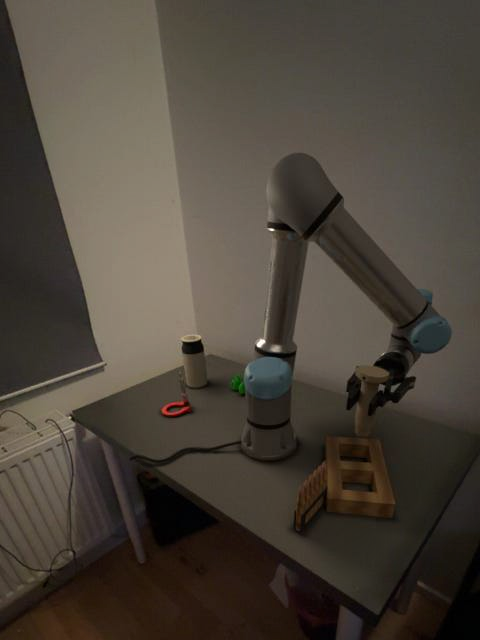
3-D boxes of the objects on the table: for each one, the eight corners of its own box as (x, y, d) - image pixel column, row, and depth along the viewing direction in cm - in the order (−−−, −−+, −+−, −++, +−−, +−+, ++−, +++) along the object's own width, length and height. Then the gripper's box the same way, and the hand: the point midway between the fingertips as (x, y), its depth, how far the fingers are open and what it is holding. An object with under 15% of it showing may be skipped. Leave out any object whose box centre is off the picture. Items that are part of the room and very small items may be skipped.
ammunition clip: (318, 499, 78) (322, 456, 71) (326, 503, 77) (331, 460, 70) (293, 529, 71) (294, 485, 65) (300, 534, 70) (303, 489, 64)
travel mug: (198, 389, 129) (192, 342, 119) (182, 385, 132) (175, 339, 123) (211, 381, 134) (207, 335, 125) (195, 377, 138) (189, 333, 128)
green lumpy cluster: (277, 384, 129) (278, 366, 126) (258, 401, 119) (257, 382, 115) (243, 376, 137) (242, 360, 133) (222, 392, 126) (220, 374, 122)
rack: (326, 511, 75) (328, 497, 72) (325, 448, 94) (326, 436, 92) (392, 518, 72) (395, 504, 70) (376, 451, 92) (379, 439, 89)
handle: (367, 444, 73) (378, 379, 66) (343, 431, 78) (351, 369, 70) (381, 436, 76) (394, 372, 68) (357, 424, 80) (366, 363, 72)
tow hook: (164, 420, 112) (192, 412, 114) (155, 384, 105) (185, 376, 107) (160, 409, 118) (186, 402, 121) (151, 374, 111) (179, 367, 114)
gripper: (426, 387, 82) (400, 435, 66) (356, 374, 90) (318, 412, 74) (434, 357, 78) (408, 399, 62) (360, 345, 86) (321, 380, 70)
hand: (359, 406), depth 68 cm, fingers closed on handle, 4 cm apart
